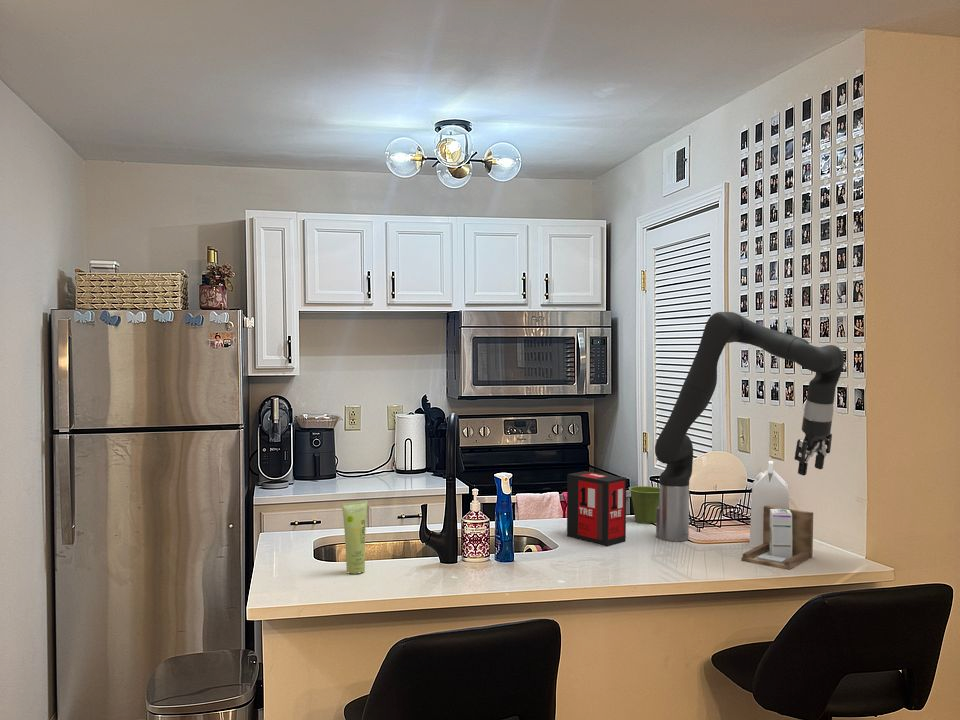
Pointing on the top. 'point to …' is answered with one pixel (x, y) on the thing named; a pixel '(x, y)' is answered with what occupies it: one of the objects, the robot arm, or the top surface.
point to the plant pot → (645, 503)
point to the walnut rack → (800, 540)
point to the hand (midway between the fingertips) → (810, 471)
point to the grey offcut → (772, 558)
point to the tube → (355, 535)
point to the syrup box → (781, 533)
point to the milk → (766, 500)
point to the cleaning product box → (596, 508)
